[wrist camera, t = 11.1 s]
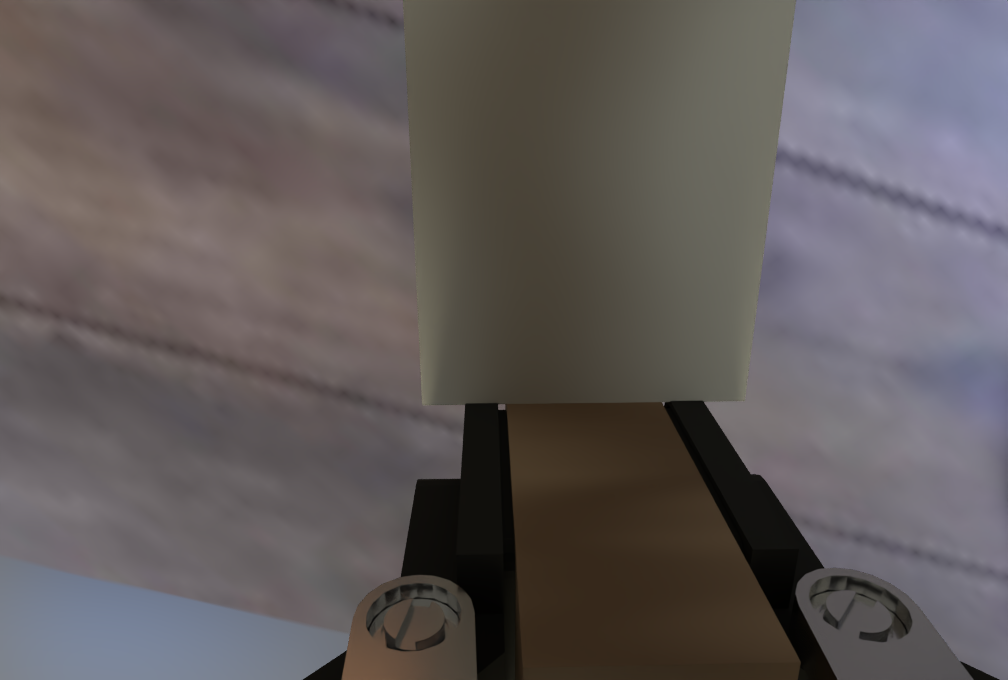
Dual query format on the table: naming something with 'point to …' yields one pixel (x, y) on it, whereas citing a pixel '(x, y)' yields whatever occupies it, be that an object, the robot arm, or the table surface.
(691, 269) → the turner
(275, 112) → the table surface
